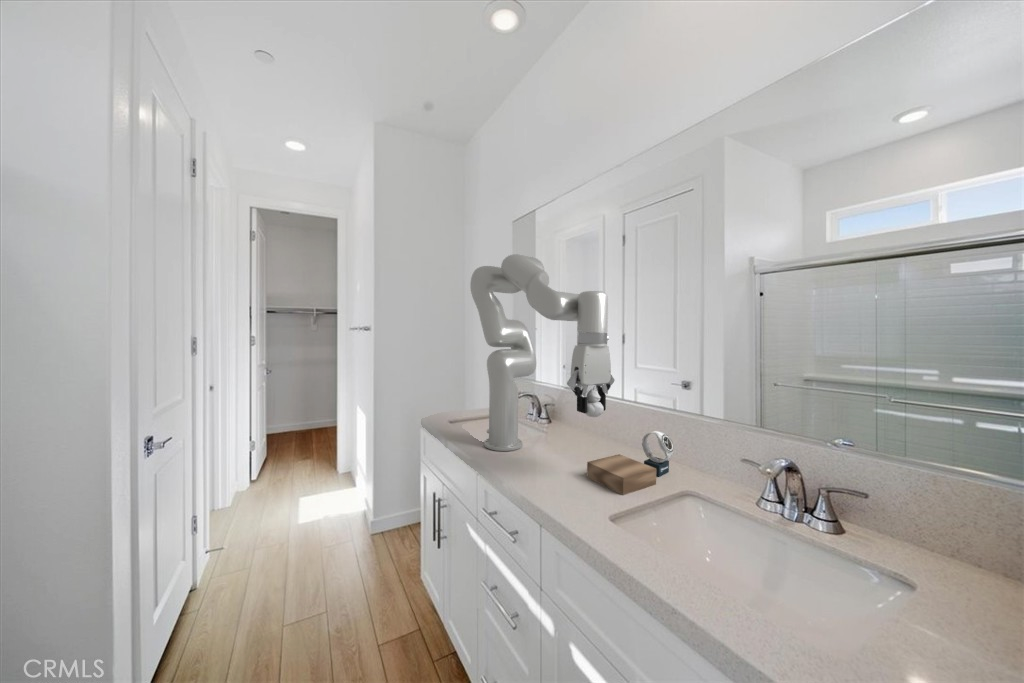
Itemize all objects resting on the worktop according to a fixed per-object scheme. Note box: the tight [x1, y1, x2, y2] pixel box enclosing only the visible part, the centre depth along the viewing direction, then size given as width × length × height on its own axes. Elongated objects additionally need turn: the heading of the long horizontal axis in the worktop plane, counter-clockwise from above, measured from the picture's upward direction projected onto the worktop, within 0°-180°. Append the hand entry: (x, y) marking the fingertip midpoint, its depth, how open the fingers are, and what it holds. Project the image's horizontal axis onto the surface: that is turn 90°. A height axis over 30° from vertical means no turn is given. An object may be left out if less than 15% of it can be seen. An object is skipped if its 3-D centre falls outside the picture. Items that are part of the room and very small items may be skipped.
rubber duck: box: [584, 385, 604, 418], centre depth 93 cm, size 5×7×8 cm
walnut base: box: [586, 454, 657, 496], centre depth 93 cm, size 12×12×4 cm
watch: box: [641, 430, 675, 478], centre depth 99 cm, size 6×8×11 cm
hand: (591, 410), depth 93 cm, fingers closed on rubber duck, 5 cm apart
